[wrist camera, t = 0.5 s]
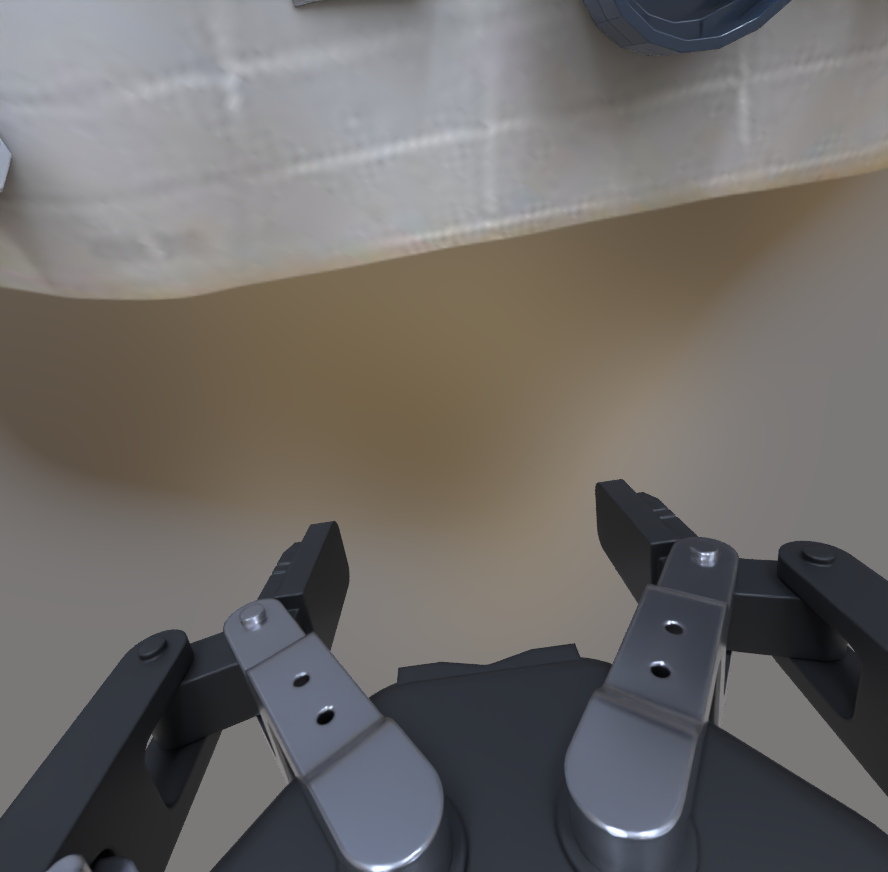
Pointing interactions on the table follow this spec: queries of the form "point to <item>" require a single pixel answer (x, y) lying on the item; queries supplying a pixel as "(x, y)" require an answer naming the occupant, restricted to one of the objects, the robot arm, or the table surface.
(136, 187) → the table surface
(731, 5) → the bowl
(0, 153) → the soap bottle
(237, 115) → the table surface
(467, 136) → the table surface
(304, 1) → the kitchen cleaver
